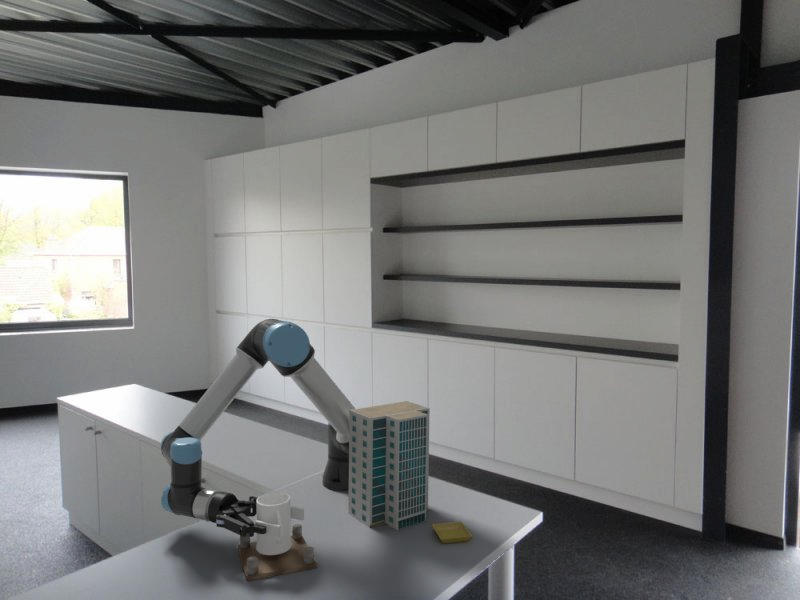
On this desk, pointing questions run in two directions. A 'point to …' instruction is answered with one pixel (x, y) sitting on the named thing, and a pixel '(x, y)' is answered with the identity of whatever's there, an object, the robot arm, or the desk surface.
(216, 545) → the desk surface
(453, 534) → the yellow square slab
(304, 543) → the board with corner pegs
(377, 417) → the building model
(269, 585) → the desk surface
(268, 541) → the mug
